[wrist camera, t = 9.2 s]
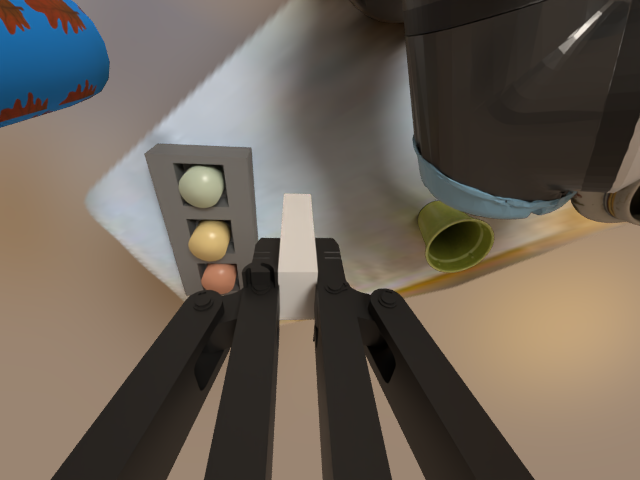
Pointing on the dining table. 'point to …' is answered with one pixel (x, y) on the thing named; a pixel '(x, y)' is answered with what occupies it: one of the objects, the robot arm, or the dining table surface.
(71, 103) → the thermos
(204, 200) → the sage button
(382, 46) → the dining table surface
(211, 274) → the pink button
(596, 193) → the apothecary jar
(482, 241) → the plant pot
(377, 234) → the dining table surface
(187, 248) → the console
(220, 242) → the ochre button
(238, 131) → the dining table surface
